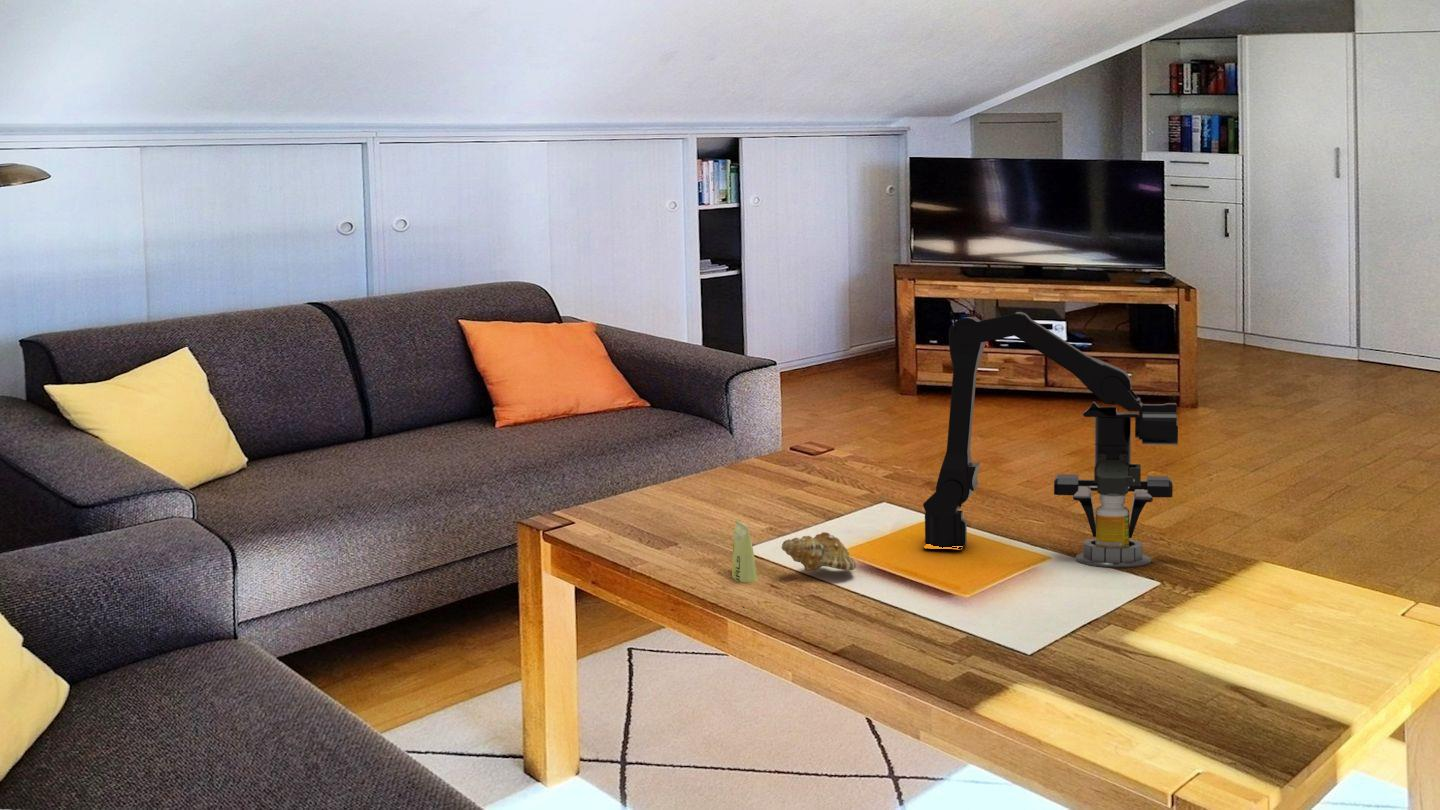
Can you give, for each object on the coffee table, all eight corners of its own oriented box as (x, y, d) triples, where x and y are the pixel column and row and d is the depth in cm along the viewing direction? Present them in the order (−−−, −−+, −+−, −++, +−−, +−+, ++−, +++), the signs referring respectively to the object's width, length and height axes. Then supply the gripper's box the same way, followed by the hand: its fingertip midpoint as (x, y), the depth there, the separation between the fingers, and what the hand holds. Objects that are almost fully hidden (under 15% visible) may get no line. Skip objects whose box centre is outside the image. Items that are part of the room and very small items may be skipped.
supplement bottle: (1130, 555, 221) (1131, 496, 220) (1096, 554, 222) (1096, 496, 221) (1127, 549, 226) (1127, 491, 226) (1094, 548, 228) (1094, 491, 227)
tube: (723, 640, 222) (718, 524, 219) (740, 633, 226) (736, 518, 224) (751, 645, 218) (747, 527, 216) (768, 637, 222) (764, 521, 220)
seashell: (826, 595, 215) (793, 543, 214) (803, 596, 222) (771, 545, 221) (867, 562, 219) (835, 511, 218) (842, 563, 226) (811, 514, 225)
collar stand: (1074, 566, 220) (1074, 549, 220) (1076, 552, 232) (1076, 535, 232) (1151, 569, 217) (1151, 551, 217) (1149, 554, 229) (1149, 537, 228)
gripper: (1052, 449, 218) (1052, 544, 219) (1174, 450, 212) (1173, 548, 214) (1055, 441, 228) (1055, 532, 230) (1171, 442, 223) (1170, 535, 225)
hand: (1112, 537), depth 224 cm, fingers closed on supplement bottle, 5 cm apart
